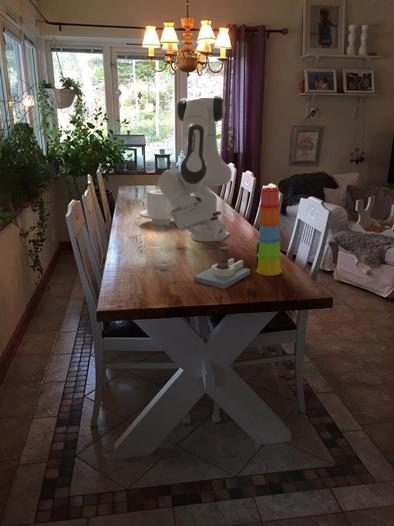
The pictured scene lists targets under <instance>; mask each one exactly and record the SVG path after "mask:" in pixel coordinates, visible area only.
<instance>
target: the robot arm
mask: <svg viewBox="0 0 394 526" xmlns="http://www.w3.org/2000/svg"><path fill="white" fill-rule="evenodd" d="M226 109H227V107H226V104H225V101H224V98H222V97H221V96H216V95H215V96H205V95H200V96H194V97H183V98H180V100H179V101H178V102H177V104H176V115H177V117H178V119H179V120H180V121H181V122H182V135H183V138H184V139H185V141H186V142H187V147H186V155H185V157H184V158H183V160H182V162H181V164H180V169H179V170H178V169H177V170H171V169H166V170H164V171H163V172H162V173H161V174H160V175H159V177H158V179H157V186H158V188H159V190H161V192H162V193H163V195H164V196H165V198H166V199H168V200H169V201H170V203H171V206H172V207H173V208H174V209H173V210H172V211H171V215H172V216H173V218H172V219H173V221H174V223H175V225H176V226H177V227H178V229H179V230H180V231H182V232H184V231H185V230H186V231H188V232H189V233H190V237H191V239H192V240H193V241H194V240H195V241H198V242H221V241H223V240H225V239H226V238H227V237H229V236H230V231H229V232H228V231H226V225H225V223H224V222H223V221H222V220H221V219H220V218H219V217H220V216H221V214H222V210H221V211H220V210H217V208H218V207H217V206H218V204H217V203H218V198H217V195H216V194H215V193H214V192H212V191H211V190H209V188H208V186H224V185H227V184H228V183H230V181H231V180H232V170H231V167H230V166H229V165H228V164H227V163H225V161H224V160H223V159H222V157H221V155H220V154H219V150H218V141H217V126H216V123H218V122H219V121H221V120H223V118H225V113H226V111H227V110H226ZM192 194H193V195H192Z"/></svg>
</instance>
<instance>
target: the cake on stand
mask: <svg viewBox="0 0 394 526" xmlns="http://www.w3.org/2000/svg"><path fill="white" fill-rule="evenodd" d="M173 209H174V208H173V207H172V206H171V203H170V201H169V200H168V199H166V198H165V196H164V195H163V193H162V192H161V190H160V189H154V190H152V189H151V190H149V191H147V192H146V209H143V210H141V211H140V212H139V216H140V217H141V218H144V219H149V220H150V219H151V226H154V225H157V226H159V227H160V226H162V227H164V226H165V227H168V226H170V224H171V221H172V220H171V219H173V216H172V215H171V211H172V210H173ZM157 226H156V227H157Z"/></svg>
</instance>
